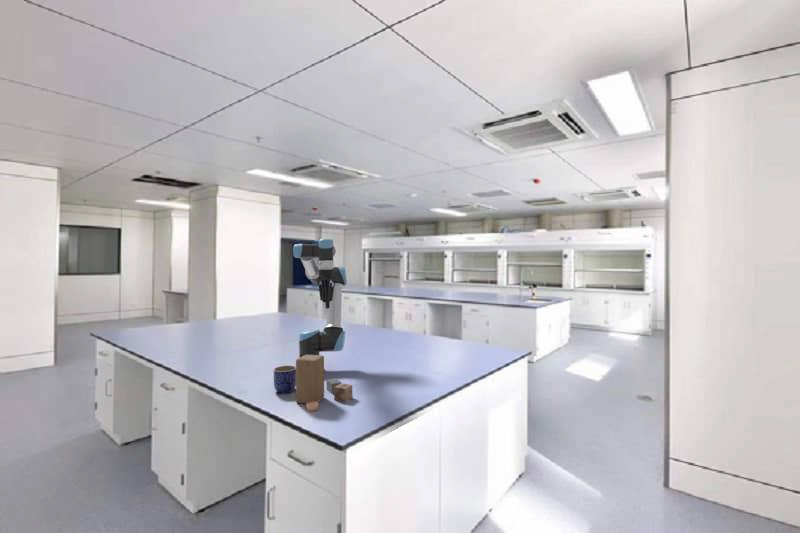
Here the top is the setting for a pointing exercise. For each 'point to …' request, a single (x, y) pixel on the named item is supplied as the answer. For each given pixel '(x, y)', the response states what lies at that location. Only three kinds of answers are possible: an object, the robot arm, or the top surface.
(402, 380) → the top surface
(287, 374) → the planter
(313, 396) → the wooden block
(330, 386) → the gray block
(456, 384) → the top surface
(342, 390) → the walnut cube
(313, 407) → the terracotta puck
